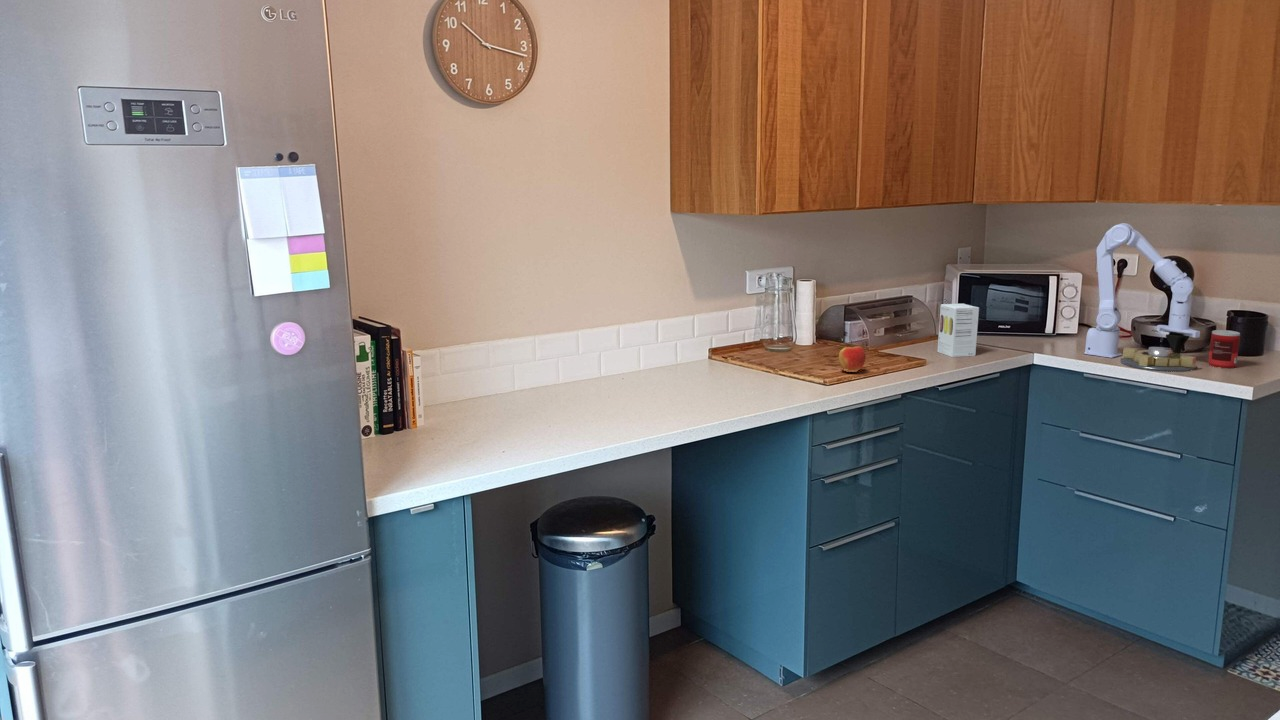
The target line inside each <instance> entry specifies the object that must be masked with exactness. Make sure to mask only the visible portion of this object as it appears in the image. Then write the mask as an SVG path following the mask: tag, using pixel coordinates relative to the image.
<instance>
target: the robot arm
mask: <svg viewBox="0 0 1280 720" xmlns="http://www.w3.org/2000/svg"><path fill="white" fill-rule="evenodd" d="M1125 243H1126V246H1128V247H1129V246H1130V247H1133V248H1136V249H1137V250H1138V251H1140V253H1141V254H1142V255H1144V257H1146V258H1147V260H1149V261H1150V262H1151V263H1152V264H1153V266H1154V268H1153V271H1154V273H1155V274H1156V275H1157V276H1158V277H1159V278H1160V279H1161V280H1162V281H1163V282H1164V283H1165V284H1166V286H1170V290H1171V292H1172V297H1171V301H1170V309H1169V317H1168V325H1166V324H1158V325H1156V326H1157V327H1156V331H1157V332H1163V333H1168V334H1165V338H1166V339H1167V342H1168V345H1169V348H1171V350H1173V352H1174V353H1178V354H1181V352H1182V351H1183V350H1182V349H1183V348H1184V345H1185V344H1186V343H1187V341H1188V340H1189V339H1190V337H1192V338H1200V337H1201V336H1200V335H1201V331H1200V330H1195V329H1192V328H1190V321H1191V319H1190V317H1191V310H1192V297H1193V296H1192V292H1193V290H1194V288H1195V287H1194V282H1193V280H1192V278H1190V277H1189V276H1187V275H1188V274H1187V273H1186V272H1183V271H1182V270H1181V269H1180V268H1179V267H1178V266H1177V262H1176V260H1172V259H1170V258H1163V256H1162V255H1160V253H1159V252H1158V251H1157V250H1156V248H1154V246H1152V244H1151V243H1150V242H1149V241H1148V240H1147V239H1146V238H1145V237H1144V235H1143V234H1141V233H1140V232H1139V230H1136V229H1134V228H1133V226H1132V225H1130V224H1129V223H1125V222H1123V223H1118V224H1115V225H1114V226H1112V227H1111V228H1110V229H1108V230H1107V231H1106V232H1105V234H1104V236H1103V238H1102V239H1101V241H1100V242H1099V244H1098V246H1097V247H1096V263H1097V266H1096V267H1097V279H1098V295H1099V304H1098V315H1097V316H1096V320H1095V321H1096V324H1097V325H1095V327H1090V328H1089V329H1088V331H1087V332H1086V337H1085V339H1086V340H1085V346H1084V347H1085V348H1084V349H1085V350H1084V352H1083V354H1085V355H1090V356H1097V357H1105V358H1111V359H1112V358H1116V357H1119V356H1123V353H1121V352H1119V341H1120V332H1121V328H1120V326H1119V325H1118V324H1119V323H1120V322H1121V320H1122V315H1121V312H1120V310H1119V308H1118V303H1117V299H1116V298H1117V297H1116V282H1115V267H1114V252H1115V251H1117V249H1118V248H1119V247H1120V246H1122V245H1124V244H1125Z"/></svg>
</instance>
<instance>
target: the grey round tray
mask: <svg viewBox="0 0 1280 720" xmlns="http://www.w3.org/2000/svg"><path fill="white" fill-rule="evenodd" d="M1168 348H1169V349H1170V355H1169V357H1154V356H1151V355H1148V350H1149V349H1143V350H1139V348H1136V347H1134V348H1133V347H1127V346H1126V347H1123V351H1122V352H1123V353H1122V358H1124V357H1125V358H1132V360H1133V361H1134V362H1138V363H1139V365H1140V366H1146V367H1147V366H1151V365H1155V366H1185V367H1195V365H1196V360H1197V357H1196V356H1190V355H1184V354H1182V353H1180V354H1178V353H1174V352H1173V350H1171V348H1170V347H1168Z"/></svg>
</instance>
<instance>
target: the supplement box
mask: <svg viewBox="0 0 1280 720" xmlns="http://www.w3.org/2000/svg"><path fill="white" fill-rule="evenodd" d="M939 311H940V313H939V323H938V324H939V325H938V337H937V338H938V339H937V353H939V354H942V355H945V356H948V357H951V358H960V357H975V356H976V353H977V352H976V349H977V339H978V326H979V313H980V307H978V306H975V305H974V306H973V305H971V304H966V303H943V304H940V309H939Z"/></svg>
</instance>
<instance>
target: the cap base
mask: <svg viewBox="0 0 1280 720" xmlns="http://www.w3.org/2000/svg"><path fill="white" fill-rule="evenodd" d="M1169 348H1170V347H1165V346H1164V347H1162V346H1149V347H1148V349H1147V350H1148V355H1151V356H1154V357H1169V355H1170V349H1169ZM1120 363H1121V364H1122V365H1124V366H1127V367H1131V368H1134V369H1140V370H1145V369H1146V370H1147V371H1153V370H1156V372H1167V371H1168V373H1169V372H1171V371H1172V372H1171V373H1173V371H1174V373H1175V371H1176V373H1178V372H1179V373H1180V372H1181V373H1182V372H1190V371H1191V370H1192V371H1195V368H1197V366H1196V364H1195V367H1185V366H1155V365H1151V366H1147V367H1146V366H1140V365H1139V363H1138V362H1134V361H1133V360H1132V358H1125V357H1122V358H1121V359H1120Z"/></svg>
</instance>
